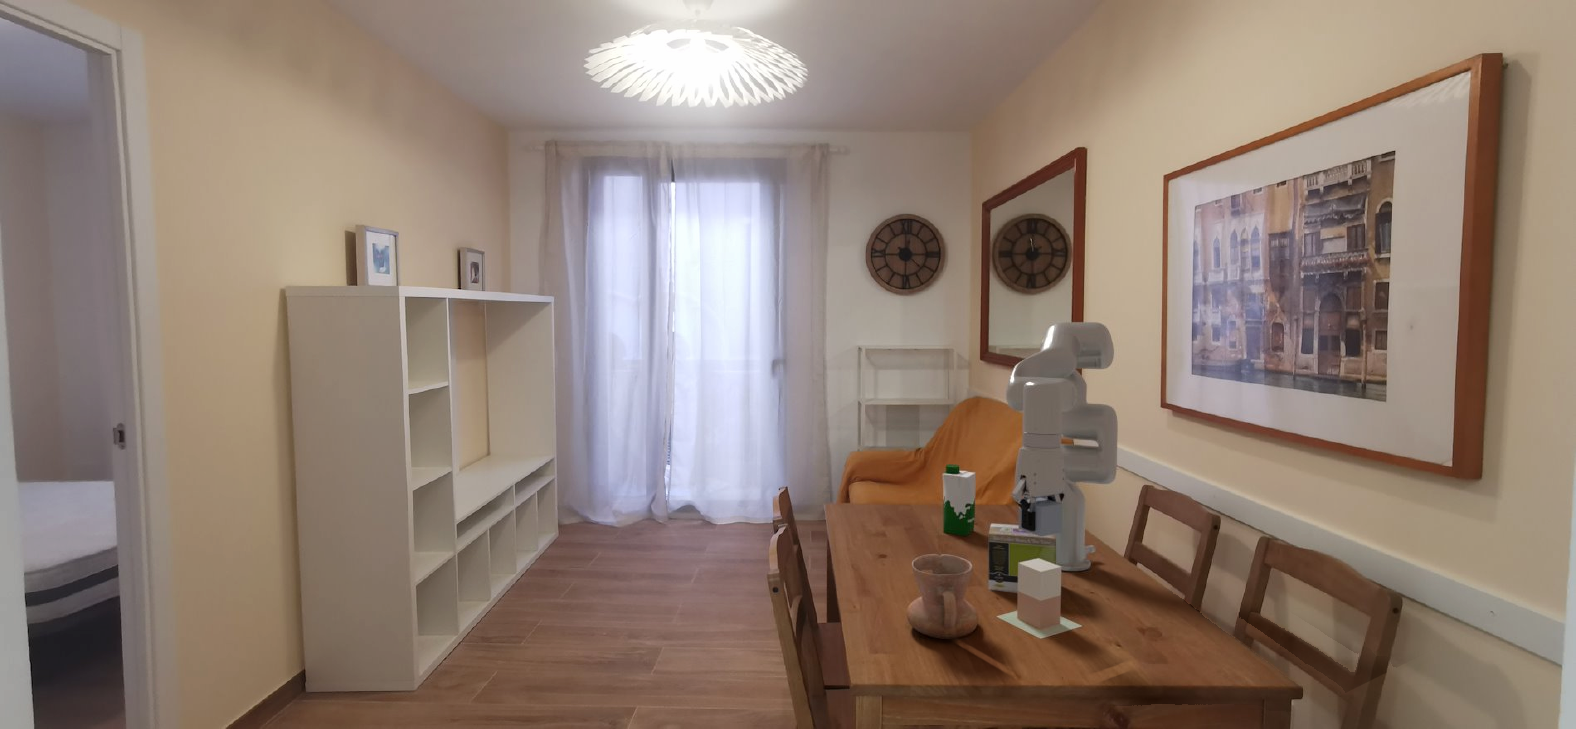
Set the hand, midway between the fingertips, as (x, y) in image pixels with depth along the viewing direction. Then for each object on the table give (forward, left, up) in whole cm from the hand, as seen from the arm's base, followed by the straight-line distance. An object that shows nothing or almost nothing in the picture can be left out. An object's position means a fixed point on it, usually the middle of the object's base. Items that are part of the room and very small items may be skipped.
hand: (1040, 526), depth 146 cm
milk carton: (-31, -59, -22) cm, 70 cm away
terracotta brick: (0, 0, -20) cm, 20 cm away
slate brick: (0, 0, -1) cm, 1 cm away
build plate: (0, 0, -21) cm, 21 cm away
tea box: (-12, -16, -22) cm, 30 cm away
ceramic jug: (+19, -8, -22) cm, 30 cm away
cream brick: (0, 0, -14) cm, 14 cm away
